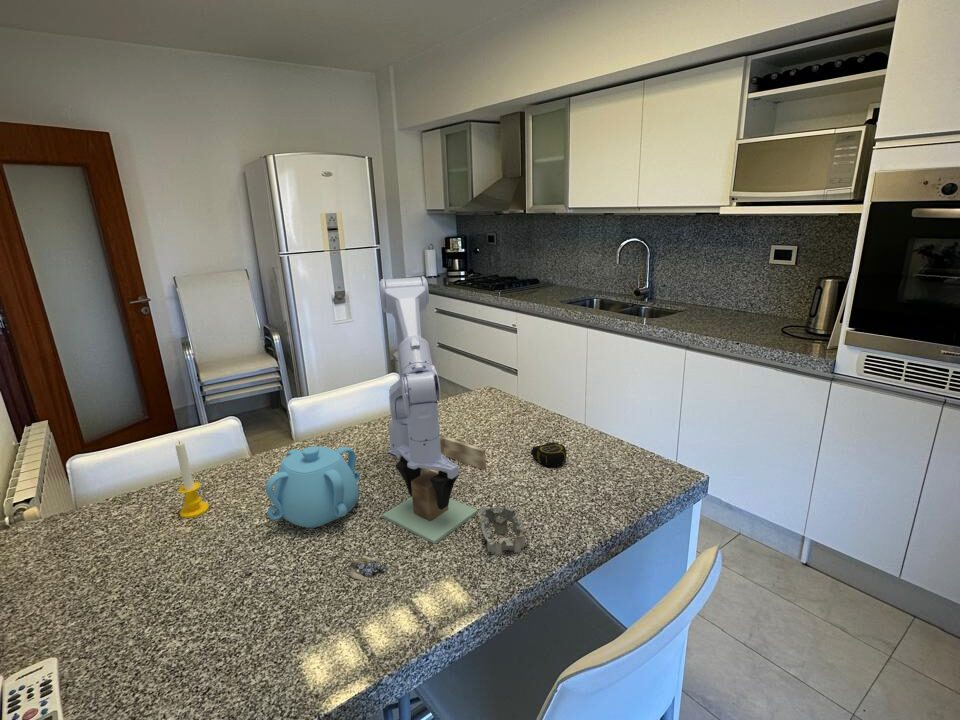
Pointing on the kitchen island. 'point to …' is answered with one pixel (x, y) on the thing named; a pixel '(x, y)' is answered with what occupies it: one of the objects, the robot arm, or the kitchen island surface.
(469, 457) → the open-side box
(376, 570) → the blueberries
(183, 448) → the candle
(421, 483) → the walnut block
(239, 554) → the kitchen island surface
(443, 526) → the sage mat
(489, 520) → the egg carton
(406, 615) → the kitchen island surface
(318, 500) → the decorative pot
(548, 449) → the tape measure
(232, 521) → the kitchen island surface
